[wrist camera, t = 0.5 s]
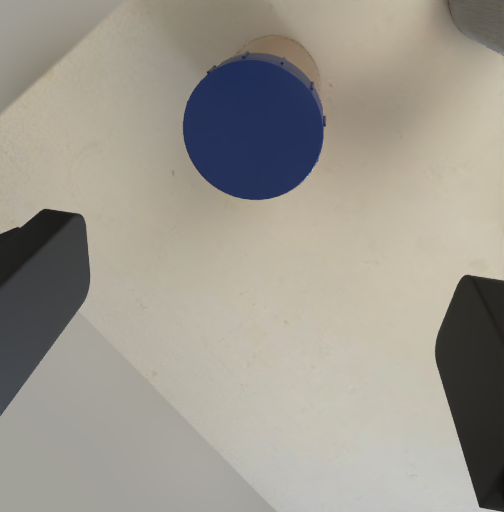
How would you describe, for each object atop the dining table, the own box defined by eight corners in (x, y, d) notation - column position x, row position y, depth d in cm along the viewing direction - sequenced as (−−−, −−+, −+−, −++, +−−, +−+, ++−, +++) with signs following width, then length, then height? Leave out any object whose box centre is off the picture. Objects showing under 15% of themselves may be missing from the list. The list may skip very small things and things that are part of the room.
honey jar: (231, 28, 25) (194, 53, 18) (329, 43, 25) (330, 75, 18) (222, 124, 28) (187, 180, 21) (310, 139, 28) (304, 200, 20)
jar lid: (197, 42, 19) (186, 48, 17) (337, 64, 19) (337, 72, 17) (189, 173, 22) (179, 188, 20) (309, 193, 22) (308, 210, 20)
